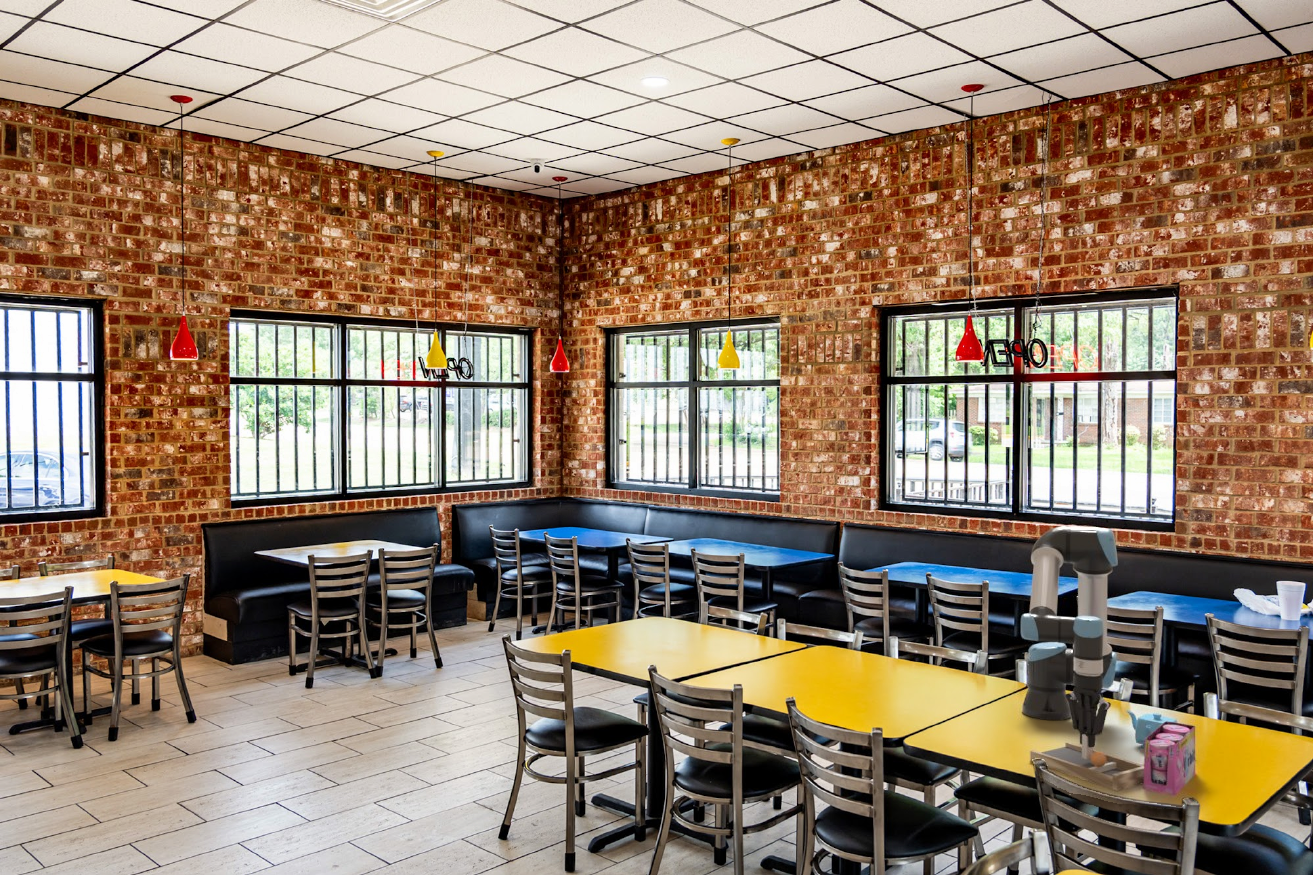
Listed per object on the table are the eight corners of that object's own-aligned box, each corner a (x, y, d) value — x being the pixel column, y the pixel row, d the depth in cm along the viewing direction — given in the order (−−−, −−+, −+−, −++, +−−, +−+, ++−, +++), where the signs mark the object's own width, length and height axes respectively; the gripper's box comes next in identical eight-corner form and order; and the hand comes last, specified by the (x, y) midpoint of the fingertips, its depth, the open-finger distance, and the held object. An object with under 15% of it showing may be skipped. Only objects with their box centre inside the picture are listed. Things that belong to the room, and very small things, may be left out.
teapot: (1196, 750, 300) (1196, 715, 300) (1178, 760, 291) (1178, 725, 291) (1134, 736, 314) (1134, 703, 314) (1114, 745, 304) (1114, 712, 304)
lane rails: (1068, 751, 298) (1068, 738, 298) (1154, 779, 275) (1155, 765, 275) (1030, 761, 290) (1030, 747, 290) (1116, 790, 266) (1116, 775, 266)
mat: (1065, 752, 298) (1065, 746, 298) (1147, 779, 275) (1147, 772, 275) (1033, 760, 290) (1033, 754, 290) (1115, 788, 268) (1115, 781, 268)
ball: (1100, 767, 282) (1093, 753, 284) (1111, 762, 279) (1104, 748, 281) (1091, 769, 279) (1085, 755, 281) (1103, 764, 277) (1096, 750, 279)
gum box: (1174, 798, 262) (1174, 746, 262) (1141, 791, 267) (1141, 740, 267) (1196, 774, 280) (1196, 725, 280) (1164, 768, 285) (1164, 720, 285)
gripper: (1059, 669, 287) (1058, 753, 287) (1100, 679, 275) (1099, 766, 276) (1076, 666, 290) (1075, 749, 291) (1117, 676, 279) (1116, 762, 279)
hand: (1087, 757), depth 283 cm, fingers closed
